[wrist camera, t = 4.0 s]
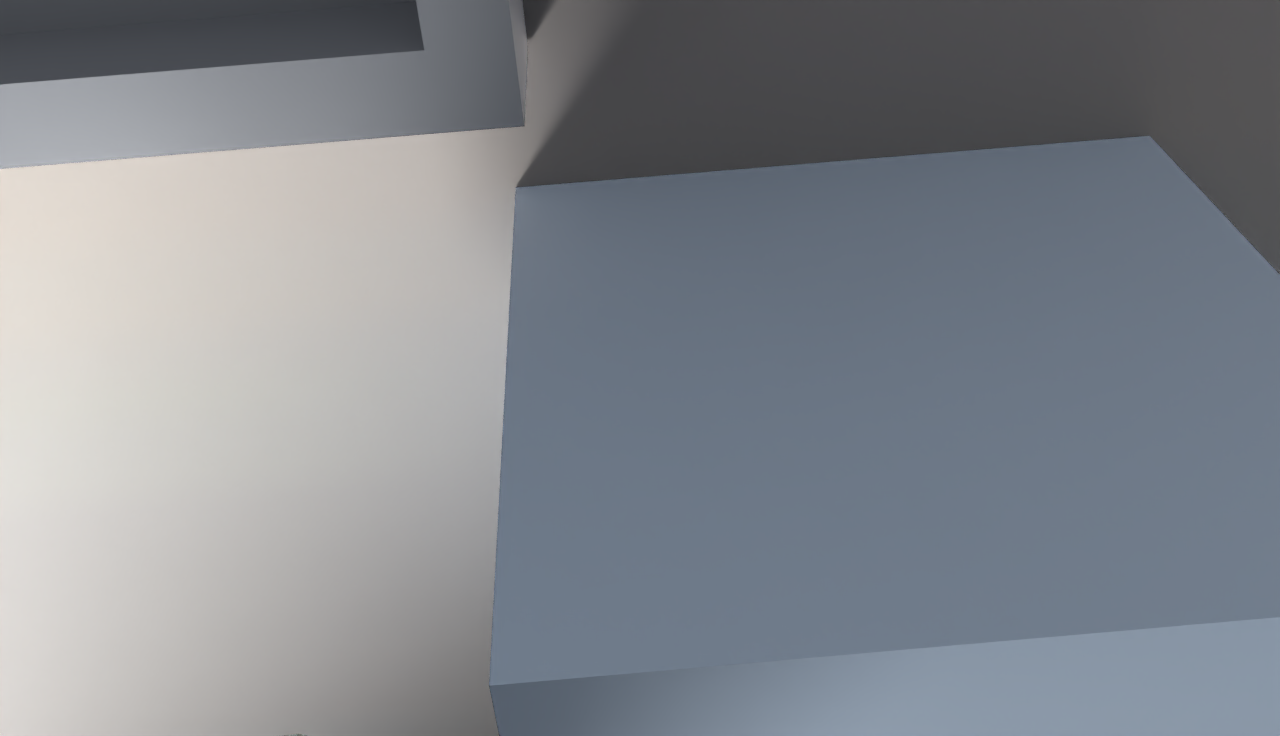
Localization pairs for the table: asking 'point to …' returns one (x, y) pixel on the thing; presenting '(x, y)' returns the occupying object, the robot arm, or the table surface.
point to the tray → (250, 74)
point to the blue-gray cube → (890, 453)
